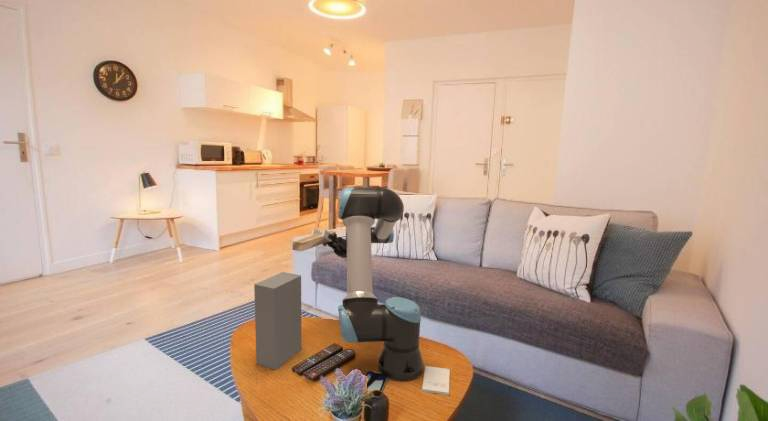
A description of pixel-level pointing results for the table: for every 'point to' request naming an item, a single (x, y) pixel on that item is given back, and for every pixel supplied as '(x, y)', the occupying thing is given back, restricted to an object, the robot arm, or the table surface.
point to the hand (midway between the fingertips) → (318, 232)
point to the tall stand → (278, 319)
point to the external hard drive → (436, 380)
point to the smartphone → (376, 380)
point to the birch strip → (310, 241)
